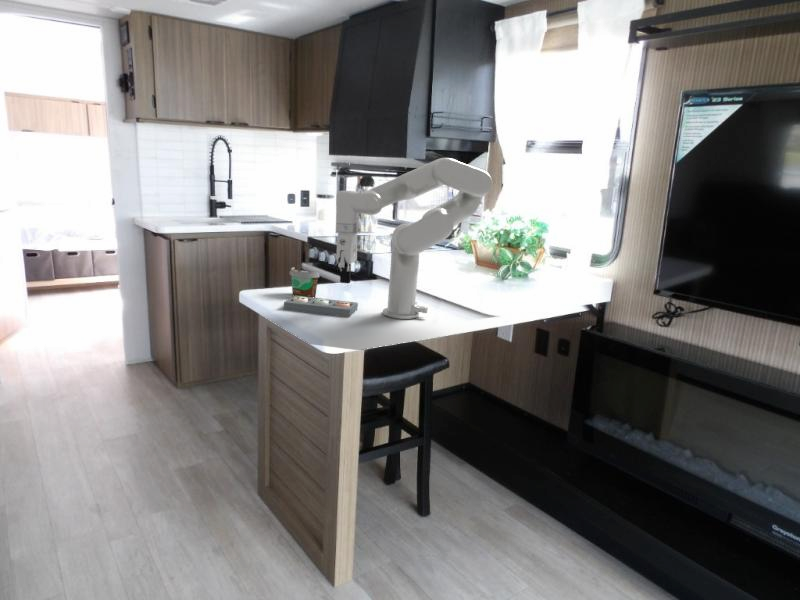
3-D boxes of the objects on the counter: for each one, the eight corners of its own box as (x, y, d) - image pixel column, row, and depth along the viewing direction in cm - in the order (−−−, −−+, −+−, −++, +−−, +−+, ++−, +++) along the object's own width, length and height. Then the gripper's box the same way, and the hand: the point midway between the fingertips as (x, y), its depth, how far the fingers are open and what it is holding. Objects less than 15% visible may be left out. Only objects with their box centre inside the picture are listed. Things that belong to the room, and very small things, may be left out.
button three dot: (351, 310, 196) (351, 302, 195) (347, 314, 191) (347, 305, 190) (337, 309, 196) (337, 300, 196) (333, 312, 191) (333, 303, 191)
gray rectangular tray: (357, 309, 198) (357, 302, 198) (349, 317, 188) (349, 309, 187) (294, 302, 202) (295, 295, 201) (283, 309, 191) (284, 302, 190)
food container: (282, 295, 212) (282, 268, 209) (292, 292, 217) (293, 266, 215) (308, 300, 206) (309, 273, 204) (318, 297, 211) (319, 271, 209)
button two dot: (309, 306, 198) (310, 297, 197) (305, 309, 193) (305, 300, 192) (296, 304, 198) (296, 295, 198) (291, 307, 194) (291, 298, 193)
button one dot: (330, 308, 197) (330, 299, 196) (326, 311, 192) (326, 302, 191) (316, 306, 197) (316, 298, 197) (312, 310, 193) (312, 301, 192)
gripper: (352, 231, 179) (350, 287, 184) (363, 227, 194) (361, 279, 198) (329, 230, 180) (328, 285, 185) (342, 225, 195) (340, 277, 199)
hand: (345, 282), depth 191 cm, fingers closed
